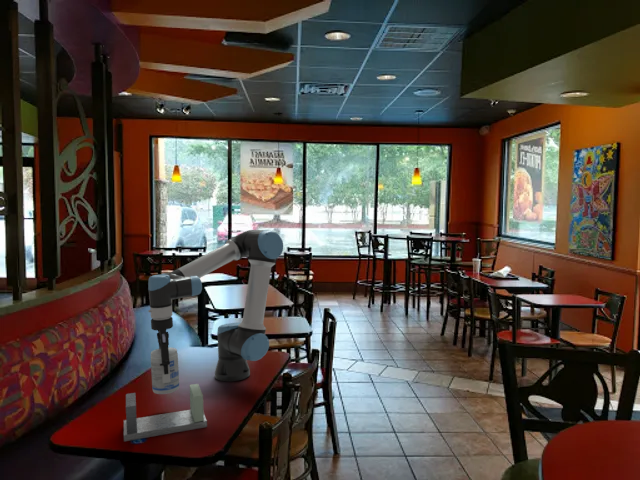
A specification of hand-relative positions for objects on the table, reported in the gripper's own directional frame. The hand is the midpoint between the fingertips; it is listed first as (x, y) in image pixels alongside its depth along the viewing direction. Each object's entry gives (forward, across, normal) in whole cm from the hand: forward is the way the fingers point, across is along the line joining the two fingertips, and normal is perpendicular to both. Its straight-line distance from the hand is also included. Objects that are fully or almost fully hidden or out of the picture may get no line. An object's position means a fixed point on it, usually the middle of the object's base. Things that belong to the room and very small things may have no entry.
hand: (165, 377), depth 180 cm
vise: (+12, +15, -2) cm, 19 cm away
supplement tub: (+5, 0, 0) cm, 5 cm away
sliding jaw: (+10, +15, +9) cm, 20 cm away
